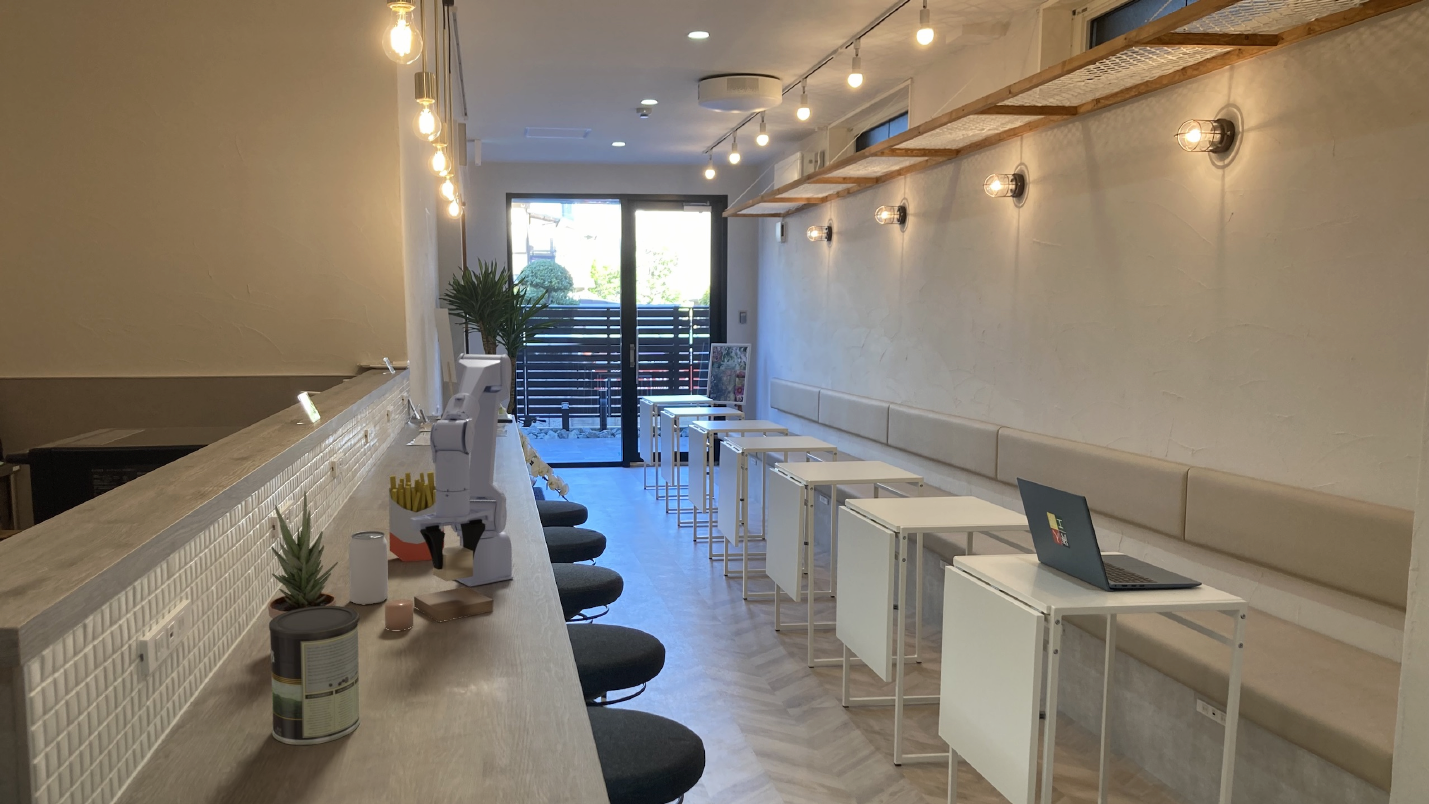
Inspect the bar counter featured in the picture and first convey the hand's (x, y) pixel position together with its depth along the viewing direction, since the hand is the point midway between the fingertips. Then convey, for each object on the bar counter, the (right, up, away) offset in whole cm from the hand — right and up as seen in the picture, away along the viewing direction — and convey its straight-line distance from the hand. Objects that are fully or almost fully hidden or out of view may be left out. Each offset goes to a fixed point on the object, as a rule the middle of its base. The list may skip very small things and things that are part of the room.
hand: (453, 565), depth 165 cm
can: (-17, -7, +5) cm, 19 cm away
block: (0, -2, 0) cm, 2 cm away
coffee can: (-4, -13, -46) cm, 48 cm away
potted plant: (-18, -10, -18) cm, 27 cm away
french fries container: (-17, -5, +34) cm, 38 cm away
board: (0, -8, +1) cm, 8 cm away
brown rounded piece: (-6, -9, -9) cm, 14 cm away
